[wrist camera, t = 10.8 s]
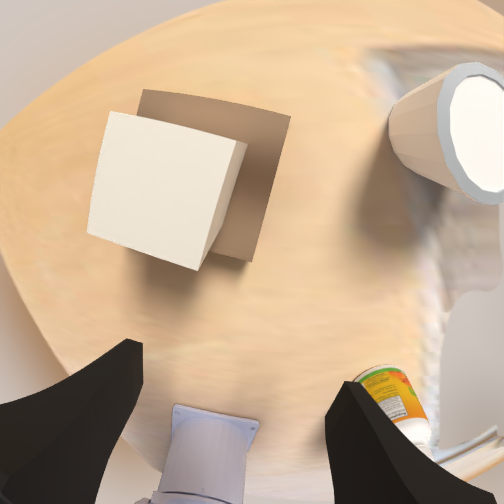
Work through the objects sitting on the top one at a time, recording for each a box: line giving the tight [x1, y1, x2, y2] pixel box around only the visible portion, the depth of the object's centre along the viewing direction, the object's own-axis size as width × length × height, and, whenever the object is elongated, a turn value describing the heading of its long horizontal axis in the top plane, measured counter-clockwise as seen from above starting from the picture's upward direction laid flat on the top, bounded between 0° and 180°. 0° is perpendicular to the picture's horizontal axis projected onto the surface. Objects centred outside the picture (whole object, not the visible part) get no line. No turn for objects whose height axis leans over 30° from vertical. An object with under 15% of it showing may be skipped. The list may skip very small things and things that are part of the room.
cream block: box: [87, 111, 248, 271], centre depth 12 cm, size 4×4×6 cm
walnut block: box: [137, 89, 291, 262], centre depth 16 cm, size 8×8×3 cm
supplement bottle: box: [354, 365, 434, 461], centre depth 18 cm, size 5×5×10 cm
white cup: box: [388, 62, 504, 205], centre depth 12 cm, size 7×7×7 cm
